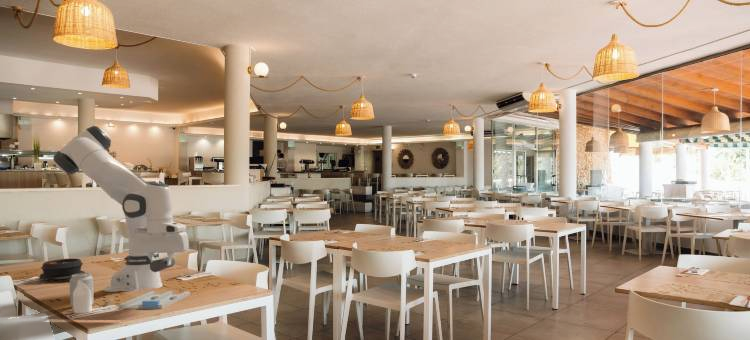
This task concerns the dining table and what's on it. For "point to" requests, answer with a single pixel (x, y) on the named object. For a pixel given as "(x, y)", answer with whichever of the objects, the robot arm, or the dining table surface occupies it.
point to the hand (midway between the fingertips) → (161, 265)
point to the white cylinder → (82, 298)
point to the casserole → (61, 269)
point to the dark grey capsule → (161, 264)
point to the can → (85, 279)
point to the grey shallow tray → (153, 300)
